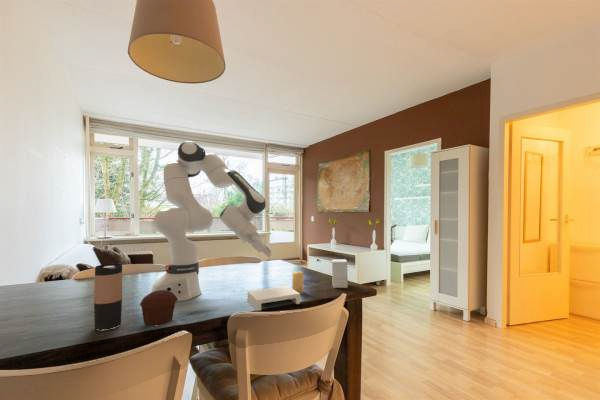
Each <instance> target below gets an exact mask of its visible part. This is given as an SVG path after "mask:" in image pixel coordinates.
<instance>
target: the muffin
mask: <svg viewBox="0 0 600 400" xmlns="http://www.w3.org/2000/svg"><path fill="white" fill-rule="evenodd" d="M177 300H178V299H177V297H176V296H175V295H174V294H173V293H172V292H170V291H167V290H158V291H154V292H151V291H150V292H149V293H148V294H147V295H145V296H144V297H143V298H142V299H141V301H140V303H139V306H140V307H141V311H142V318H143V324H144V323H145V324H147V325H146V326H148V325H159V326H162V325H166V323H167V324H169V323H170V322H172V321H173V319H174V318H173V317H174V312H175V305H176V303H177V302H178V301H177ZM145 324H144V325H145ZM161 324H162V325H161Z"/></svg>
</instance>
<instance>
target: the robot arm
mask: <svg viewBox="0 0 600 400" xmlns="http://www.w3.org/2000/svg"><path fill="white" fill-rule="evenodd" d="M177 158H178V159H177V160H176V161H172V162H171V161H170V162H168V163H167V164H165V166H164V167H163V184H164V189H165V194H166V199H167V201H168V202H169V203H170V204H172V205H173V206H176V207H173V208H172V207H170V208H164V209H160V210H158V211H157V212H156V214H155V215H154V217H153V225H154V228H155V229H156V230H157V231H158V232H159V233H161V234H162V235H163V237H165V238H166V240H167V241H168V243H169V247H170V258H171V259H170V261H171V263H170V264H169V263H166V264H165V265H164V268H165V272H166V273H164V275H162V276H161V277H160V278H158V279H157V280H156V281H154V283H153V285H152V288H151V291H150V293H151V292H154V291H158V290H167V291H170V292H172V293H173V294H174V295H175V296H176V297H177V299H178V300H177V301H176V302H183V301H189V300H190V299H191V300H192V299H193V298H196V297H198V296H200V295H201V294H202V290H201V286H200V282H199V281H200V280H199V273H200V264H199V261H198V259H199V256H198V255H199V254H198V251H199V250H198V249H199V247H198V245H197V244H196V242H194V241H193V240H191V239H189V238H188V237H187V235H186V233H193V232H202V231H206V230H208V229H210V228H211V226H212V224H213V221H214V218H213V215H212V212H211V211H210V210H209V209H208V208H206V207H204V206H203V205H202V204H200V203H199V201H198V200H197V198H196V197H195V196H194V192H193V191H192V187H191V184H190V179H189V178H194V177H196V176H198V175H199V174H200V173H201V171H202V172H203V173H205V175H206V176H207V178H208V180H209V181H210V182H211V184H212V185H213V186H214V187H216V188H219V189H223V188H228V187H231V186H232V185H233V186H235V187H236V189H238V190H239V191H240V193H241V194H242V195H243V196H244V198H243V200H242V201H241V202H240V204H239V205H231V204H227V205H226V206H225V207H224V209H223V210H222V211H221V213H220V215H219V218H220V220H221V222H222V223H223V224H224V225H225V226H226V227H227V228H228V229H229V230H230V231H232V232H233V233H234V234H235V235H236V237H237V238H238V239H239V240H241V241H242V242H243V243H244V244H245V243H246V242H247V243H248V244H250V245H251V246H252V248H254V250H256V251H257V252H258V253H261V252H262V254H264V255H266V256H267V257H268V258H270V257H271V256H272V250H271V249H269V247H268V245H266V241H265V240H264V238H263V237H262V236H261V234H259V232H258V229H259V228H257V227H256V226H255V225H254V224H253V223H252V221H253V220H254V219H255V218H257V216H258V215H259V214H260V213H262V212H263V211H264V210H265V209H266V206H267V205H266V204H267V202H266V199H265V197H264V196H263V195H262V194H261V193H260V192H258V191H257V190H256V189H255V188H254V187H253V186H252V185H251V184H250V183H249V182H248V181H247V180H246V179H245V177H243V176H242V174H240V173H239V172H238V171H236V170H233V169H230V167H228V166H227V164H226V163H225V162H224V161H223V160H222V158H221V157H220V156H218V154H216V153H214V152H209V153H206V150H205V149H204V148H203V147H201V146H200V145H198V143H196V142H194V141H190V140H188V141H184V142H182V143H181V144H180V145H178V149H177Z"/></svg>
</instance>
